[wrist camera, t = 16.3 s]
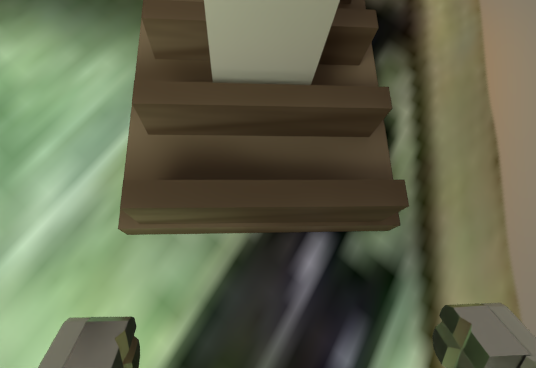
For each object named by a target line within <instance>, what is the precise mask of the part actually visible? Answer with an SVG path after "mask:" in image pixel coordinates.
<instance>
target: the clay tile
mask: <svg viewBox="0 0 536 368" xmlns="http://www.w3.org/2000/svg"><path fill="white" fill-rule="evenodd" d="M339 2H340V0H204V5H205V15H206V24H207V33H208V42H209V51H210V61H211V70H212V79H213V83H252V84H292V85H311V83H312V80H313V77H314V74H315V72H316V69H317V66H318V63H319V60H320V57H321V54H322V51H323V48H324V45H325V42H326V39H327V37H328V34H329V31H330V28H331V25H332V22H333V19H334V16H335V13H336V10H337V7H338V4H339Z"/></svg>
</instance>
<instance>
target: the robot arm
mask: <svg viewBox="0 0 536 368" xmlns="http://www.w3.org/2000/svg"><path fill="white" fill-rule="evenodd" d="M439 316H440V318H441V319H442V322H441V323H440V324H439V325H437V326H436V327H435V329H434V333H433V336H432V337H433V347H434V350H435V353H436V355H437V357H438V359H439V361H440V362H441V364H442V365H443V366H445V367H446V368H536V337H535V336H534V335H533V334H532V333H531V332H530V331H529V330H528V329H527V328H526V327H525V326H524V324H523V323H522V322H521V321H520V320H519V319H518V318H517V317H516V316H515V315H514V314H513V313H512V312H511V311H510V310H509V309H508V307H506V306H505V305H503V304H501V303H482V304H479V303H478V304H457V305H445V306H444V307H443V308H442V310H441V312H440V315H439ZM135 330H136V323H135V319H134V317H88V318H69V319H67V320H66V321H65V322H64V323H63V324H62V326H61V328H60V330H59V331H58V333H57V335H56V337H55V339H54V340H53V342H52V344H51V346H50V347H49V349H48V351H47V353H46V354H45V356H44V358H43V360H42V361H41V363H40V365H39V367H38V368H138V367H139V359H140V345H139V340H138V339H137V338H136V337H135V336H134V333H135Z"/></svg>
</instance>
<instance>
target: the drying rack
mask: <svg viewBox="0 0 536 368" xmlns="http://www.w3.org/2000/svg"><path fill="white" fill-rule="evenodd" d="M141 18H142V19H141V28H140V37H139V46H138V55H137V64H136V73H135V80H134V89H133V98H132V109H131V118H130V127H129V136H128V145H127V154H126V163H125V172H124V180H123V187H122V196H121V205H120V217H119V226H118V229H119V230H121V231H122V232H124V233H126V234H127V235H137V234H205V233H272V232H340V231H389V230H391V229H393V228H395V227H397V226H400V219H399V213H398V212H399V211H401V210H403V209H405V208H406V207H408V206H409V204H408V198H407V192H406V186H405V180H393V175H392V169H391V163H390V156H389V150H388V144H387V137H386V131H385V125H384V118H385V117H386V116H387V114H388V113H389V112H390V111H391V110H392V104H391V98H390V92H389V87H378V81H377V75H376V68H375V62H374V56H373V49H372V43H371V42H372V40H373V38H374V36H375V34H376V32H377V30H378V22H377V16H376V10H366V5H365V0H340V2H339V4H338V7H337V10H336V13H335V16H334V19H333V22H332V25H331V28H330V31H329V34H328V37H327V39H326V42H325V45H324V48H323V51H322V54H321V57H320V60H319V63H318V66H317V69H316V72H315V74H314V77H313V80H312V83H311V85H292V84H252V83H213V79H212V70H211V61H210V51H209V42H208V33H207V24H206V15H205V5H204V0H143V8H142V17H141Z"/></svg>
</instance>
